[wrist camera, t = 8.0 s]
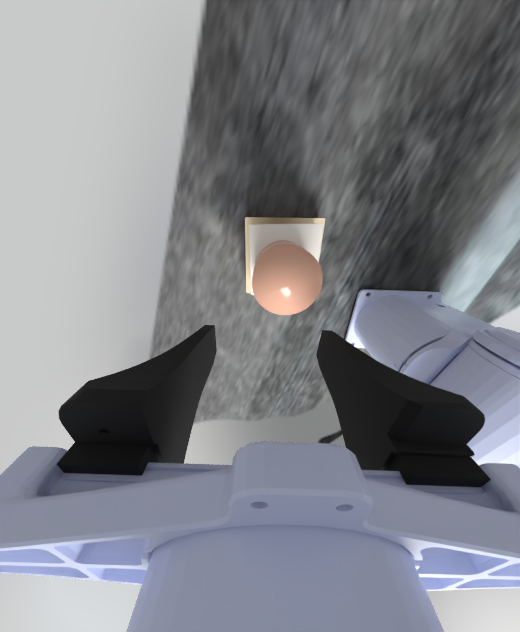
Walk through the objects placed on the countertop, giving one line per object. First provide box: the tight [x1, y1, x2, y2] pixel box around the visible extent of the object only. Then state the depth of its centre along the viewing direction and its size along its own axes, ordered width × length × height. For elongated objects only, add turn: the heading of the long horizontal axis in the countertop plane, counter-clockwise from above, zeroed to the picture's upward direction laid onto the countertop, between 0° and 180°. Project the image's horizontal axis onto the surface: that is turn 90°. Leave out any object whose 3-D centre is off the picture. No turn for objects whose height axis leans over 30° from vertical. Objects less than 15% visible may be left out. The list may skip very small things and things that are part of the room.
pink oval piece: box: [252, 240, 323, 315], centre depth 13 cm, size 4×4×4 cm
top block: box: [249, 223, 324, 295], centre depth 16 cm, size 6×6×3 cm
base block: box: [245, 217, 325, 293], centre depth 19 cm, size 7×7×3 cm
